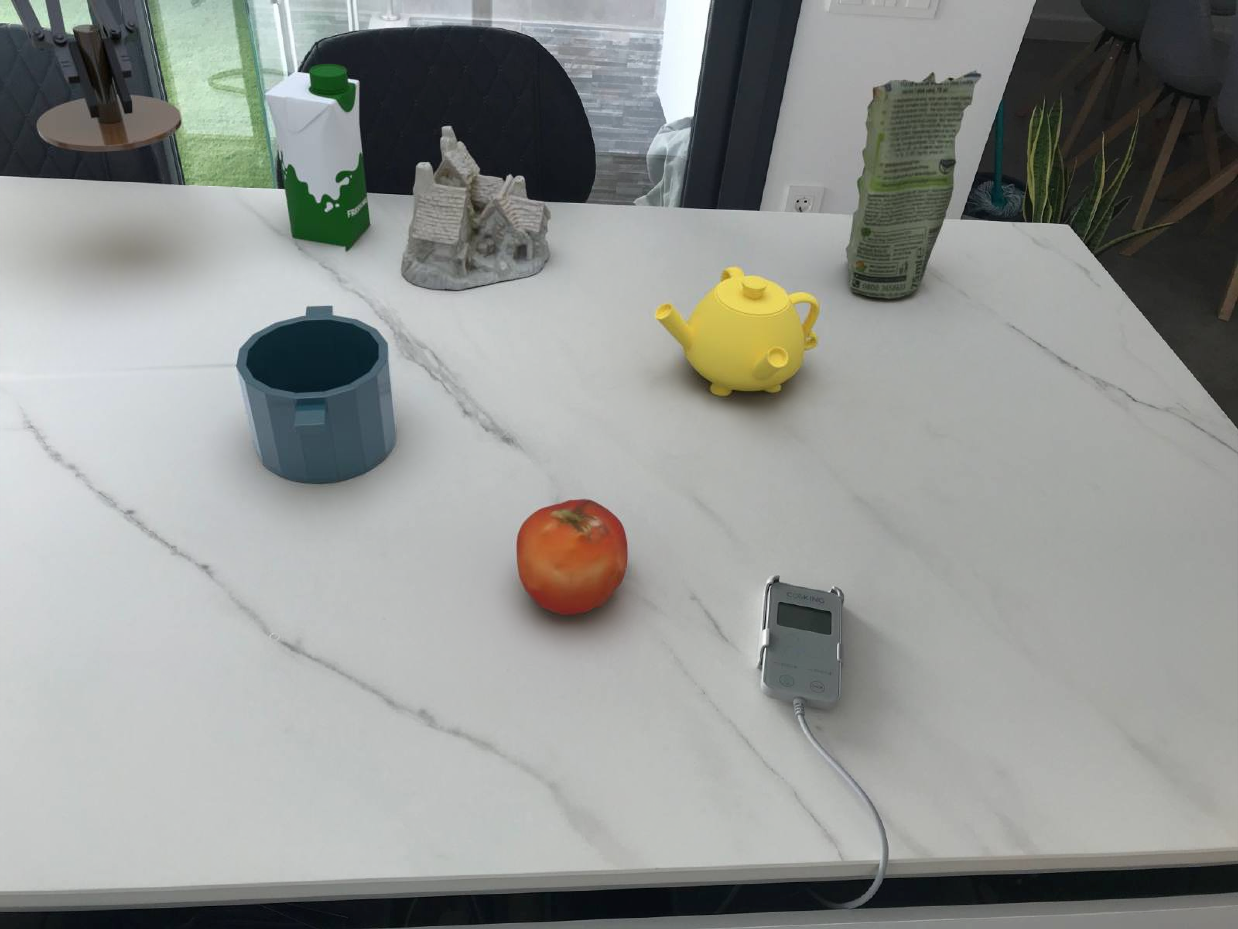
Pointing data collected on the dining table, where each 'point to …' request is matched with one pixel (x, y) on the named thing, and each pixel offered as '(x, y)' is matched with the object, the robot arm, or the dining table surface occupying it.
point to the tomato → (571, 556)
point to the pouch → (905, 181)
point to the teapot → (744, 333)
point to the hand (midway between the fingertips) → (111, 109)
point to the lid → (106, 109)
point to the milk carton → (321, 154)
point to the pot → (318, 396)
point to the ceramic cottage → (471, 225)
